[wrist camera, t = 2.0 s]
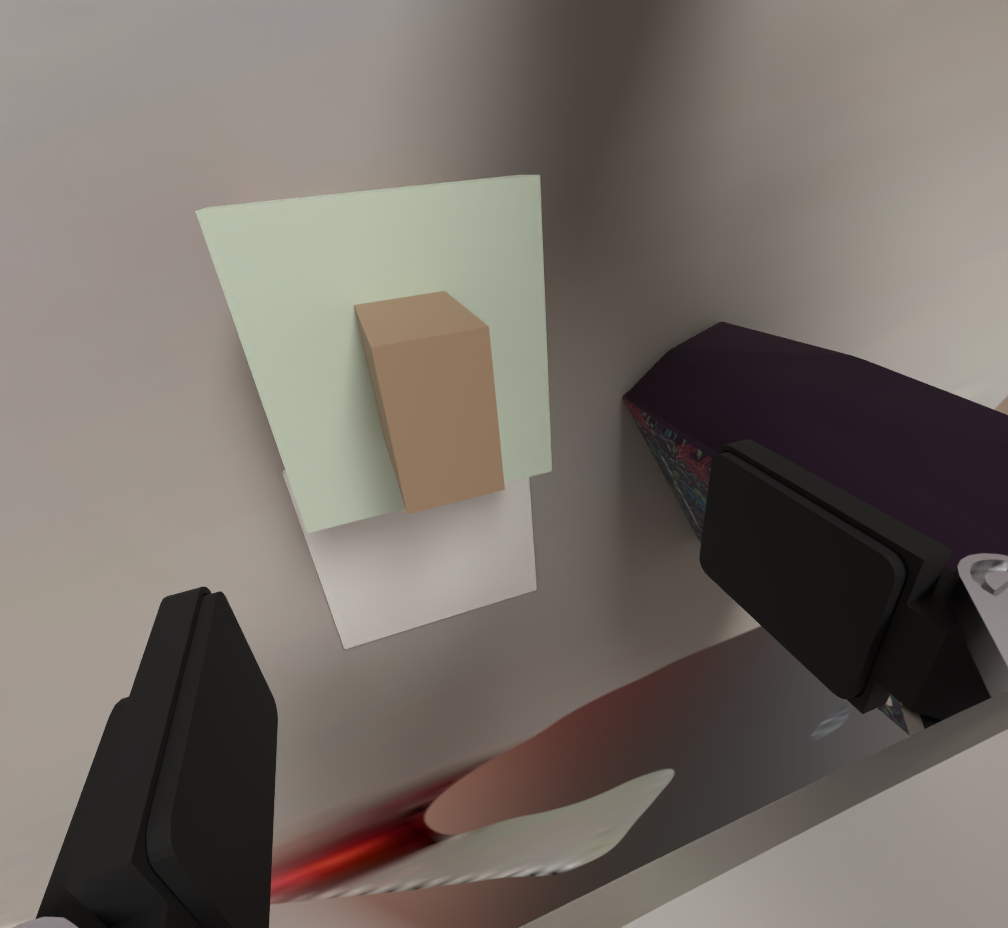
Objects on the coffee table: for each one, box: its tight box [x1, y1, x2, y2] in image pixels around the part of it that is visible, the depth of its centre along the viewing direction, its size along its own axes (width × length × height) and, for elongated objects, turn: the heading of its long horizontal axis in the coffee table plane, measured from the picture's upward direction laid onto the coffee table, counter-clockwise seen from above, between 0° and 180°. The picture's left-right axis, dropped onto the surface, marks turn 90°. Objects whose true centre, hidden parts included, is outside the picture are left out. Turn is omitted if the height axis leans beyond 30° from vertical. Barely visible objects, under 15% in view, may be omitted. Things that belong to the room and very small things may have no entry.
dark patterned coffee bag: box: [623, 322, 1008, 735], centre depth 23 cm, size 8×16×28 cm, turn 33°
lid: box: [196, 175, 552, 533], centre depth 17 cm, size 11×10×7 cm
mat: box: [283, 470, 537, 649], centre depth 31 cm, size 13×13×1 cm
